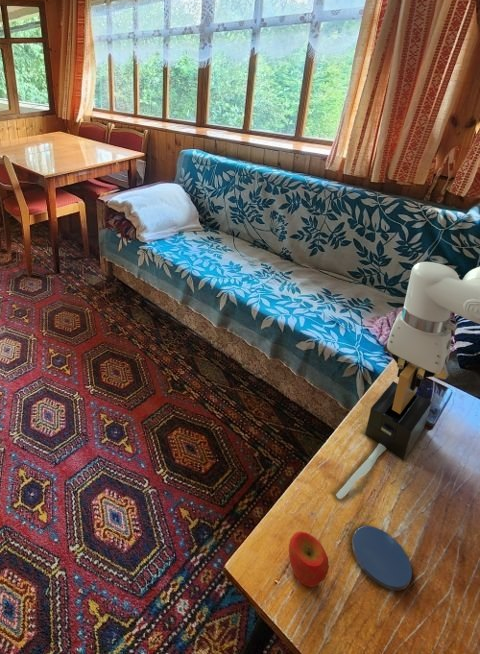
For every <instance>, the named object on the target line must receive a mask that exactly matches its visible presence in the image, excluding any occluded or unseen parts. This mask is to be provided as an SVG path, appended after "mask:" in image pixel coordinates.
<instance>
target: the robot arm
mask: <svg viewBox="0 0 480 654" xmlns="http://www.w3.org/2000/svg"><path fill="white" fill-rule="evenodd" d="M451 313H454V314H455V315H457V316H460V317H461V318H463V319H465V320H467V321H470V322H472V323H475V324H478V325H480V266H478V267H475V268H472V269H470V270H469V271H468V272H467V273H466V274H465V275H464V277H463V278H462V279H460V277H459V274H458V272H457V271H456V270H454V269H453V268H452V267H450V266H448V265H445V264H443V263H440V262H433V261H420V262H417V263H416V264H414V265H413V266H412V268H411V271H410V275H409V279H408V284H407V289H406V295H405V298H404V303H403V308H402V310H401V311H400V312H399V313H398V314H397V316H396V319H395V320H394V322H393V325H392V327H391V330H390V333H389V336H388V339H387V342H386V343H385V345H383V346H382V349H383V351H385V352H386V353H387V354H388V355H390V356H391V358H392V359H393V360H394V362H395V364H396V366H397V368H398V370H397V373H396V377H397V378H399V376H400V374H401V372H402V371H403V370H404V369H405V368H406V366H407V365H408V364H409V363H410V362H411V363H413V364H415V365H417V366H419V368H418V371H417V372H416V373H415V375H414V376H413V379H412V383H411V387H410V389H411V390H412V391H414V390H415V389H416V387H418V388H417V389H421V387H422V385H423V382H424V379H425V378H434V377H435V378H438V379H441V380H447V379H448V377H449V372H448V368H447V365H448V362H449V358H450V355H451V354H450V353H451V348H452V331H453V332H456V331H457V327H458V324H454V323H453V322H451Z"/></svg>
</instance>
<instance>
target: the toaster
mask: <svg viewBox="0 0 480 654" xmlns="http://www.w3.org/2000/svg"><path fill="white" fill-rule="evenodd" d="M397 385H398V382H396V381H392V382H391V383H390V384H389V385H388V386H387V388H386V389H385V390H384V391H383V392H382V394H381V395H380V396H379V397H378V399H376V401H375V402H374V404H373V405H372V406H371V407H370V411H369V416H368V420H367V424H366V429H365V433H364V434H365V436H366V437H368V438H369V439H371V440H373V441H374V442H376V443H377V445H378V444H379V443H380V444H382V445H383V446H384V447H386V450H387V451H389V452H390V453H392V454H393V455H395V456H396V457H397V458H399V459H400V460H402V461H405V459H406V458H407V456H408V454H409V453H410V451H411V450H412V449H413V446H414V445H415V443H416V442H417V441H418V440H419V438H420V436H421V435H422V433H423V431H424V430H425V427H426V423H427V420H428V417H429V413H430V411H431V410H430V409H431V407H432V401H430V400H428V399H427V398H425V397H423V396H421V395H420V394H417V392H416V393H415V395H414V396H413V397H412V399H411V400H410V401H409V403H408V404H407V405H406V407H405V408H404V410H403V411H402V412H401V414H399V413H397V412H395V411H394V410H392V407H393V403H394V398H395V394H396V389H397Z"/></svg>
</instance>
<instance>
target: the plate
mask: <svg viewBox="0 0 480 654" xmlns="http://www.w3.org/2000/svg"><path fill="white" fill-rule="evenodd" d="M351 549H352V552H353V556H354V558H355V560H356V563H357V564H358V566H359V567H360V569H361V570H362V571H363V572H364V573H365V574H366V576H367V577H368V578H369V579H371V580H372V581H373V582H374V583H376V584H377V585H379V586H381V587H382V588H384V589H386V590H389V591H395V592H397V591H399V592H400V591H404V590H405V589H407V588H408V586H410V583H411V580H412V577H413V569H412V565H411V561H410V559H409V557H408V555H407V553H406V552H405V550H404V548H403V547H402V546H401V545H400V543H399V542H398V541H397V540H396V539H395V538H394V537H392V536H391V535H390V534H388V533H387V532H386V531H384V530H382V529H380V528H379V527H375V526H370V525H364V526H361V527H358V528H357V529H356V530H355V531H354V533H353V536H352V541H351Z"/></svg>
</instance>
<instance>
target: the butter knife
mask: <svg viewBox="0 0 480 654" xmlns="http://www.w3.org/2000/svg"><path fill="white" fill-rule="evenodd" d="M386 450H387V449H386V447H384V446H383V445H382V444H380V443H379V444H378V443H377V446H376V447H375V449H374V450H373V451H372V452H371V454H370V455H369V456H368V458H366V460H365V461H364V462H363V463H362V464H361V465H359V467H358V468H357V470H356V471H354V473H353V474H352V475H351V476H350V477H349V478H348V480H347V481H346V483H344V485H343V486H342V487H341V488H340V489H339V490H338V491H337V493H336V494H335V496H336V497H337V499H339V500H342V499H343V498H344V497H346V495H347V494H348V493H349V492H350V490H351V489H353V486H354V485H355V484H356V481H358V480H360V479H361V478H363V477H364V476H365V475H367V474H368V473H369V472H370V471H371V470H372V468H373V466H374V465H375V463H376V461H377V460H378V459H379V457H380V456H381V455H382V454H383V453H384V452H385V451H386Z"/></svg>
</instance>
